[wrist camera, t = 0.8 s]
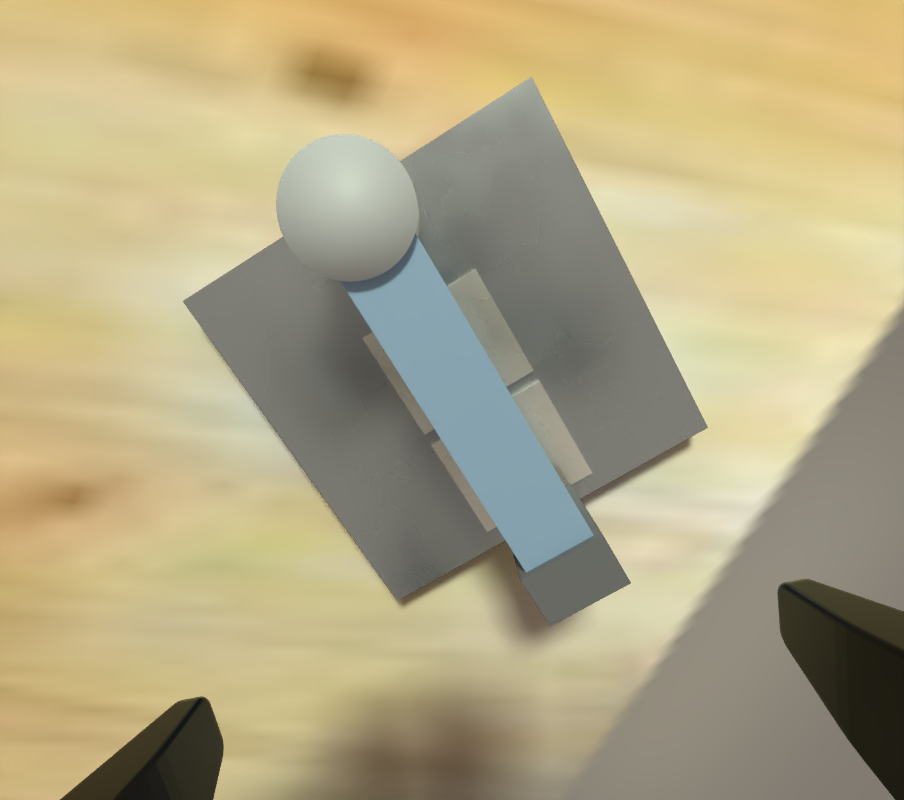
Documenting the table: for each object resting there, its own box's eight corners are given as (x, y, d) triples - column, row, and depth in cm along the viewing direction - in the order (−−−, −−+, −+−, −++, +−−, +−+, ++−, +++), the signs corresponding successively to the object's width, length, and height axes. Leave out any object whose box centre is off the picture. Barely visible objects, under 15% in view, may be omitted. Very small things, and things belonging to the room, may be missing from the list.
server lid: (691, 417, 20) (721, 435, 17) (399, 581, 21) (395, 616, 19) (524, 89, 17) (537, 65, 15) (198, 298, 18) (169, 303, 16)
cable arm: (601, 517, 18) (642, 579, 14) (519, 562, 18) (541, 634, 15) (382, 141, 15) (368, 104, 11) (289, 201, 15) (247, 183, 12)
